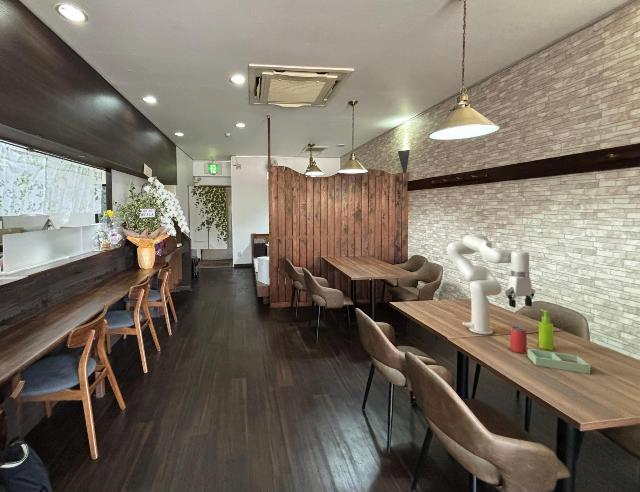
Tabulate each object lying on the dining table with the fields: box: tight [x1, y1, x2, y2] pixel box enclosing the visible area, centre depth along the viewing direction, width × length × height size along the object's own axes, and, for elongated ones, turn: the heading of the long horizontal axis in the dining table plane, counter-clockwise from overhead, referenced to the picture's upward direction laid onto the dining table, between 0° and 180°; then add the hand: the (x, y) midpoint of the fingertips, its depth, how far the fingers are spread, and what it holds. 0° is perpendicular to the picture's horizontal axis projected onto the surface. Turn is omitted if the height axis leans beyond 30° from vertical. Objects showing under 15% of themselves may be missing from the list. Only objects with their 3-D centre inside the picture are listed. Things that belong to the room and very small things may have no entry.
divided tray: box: [527, 348, 591, 375], centre depth 138 cm, size 19×10×4 cm, turn 66°
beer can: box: [510, 326, 528, 354], centre depth 152 cm, size 7×7×12 cm
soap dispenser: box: [538, 309, 554, 351], centre depth 156 cm, size 6×7×20 cm
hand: (520, 306), depth 153 cm, fingers open, 9 cm apart
